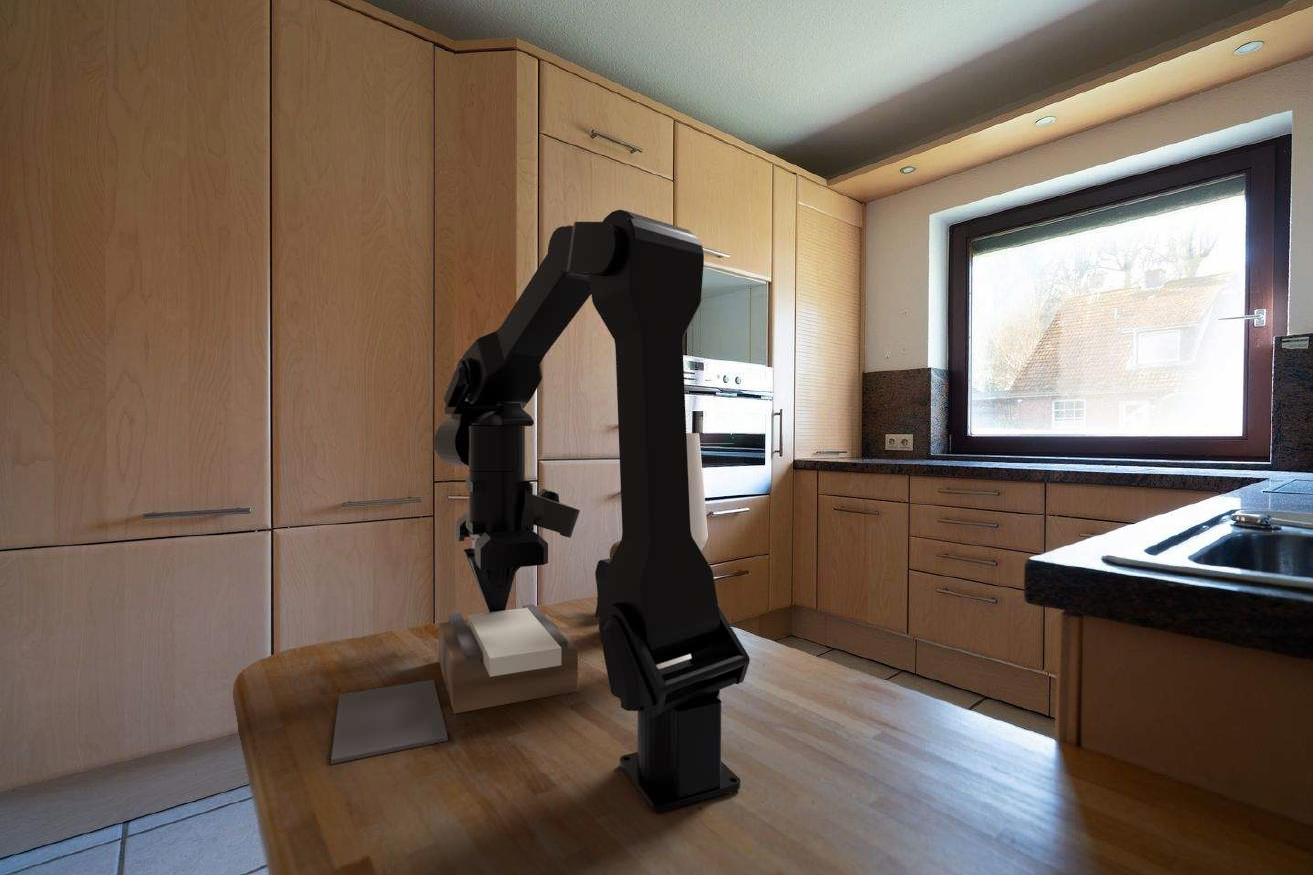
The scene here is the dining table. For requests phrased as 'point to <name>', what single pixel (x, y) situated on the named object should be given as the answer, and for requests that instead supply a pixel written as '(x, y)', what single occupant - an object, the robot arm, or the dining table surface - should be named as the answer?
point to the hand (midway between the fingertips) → (497, 619)
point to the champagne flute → (694, 506)
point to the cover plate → (513, 641)
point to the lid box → (480, 690)
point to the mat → (387, 721)
